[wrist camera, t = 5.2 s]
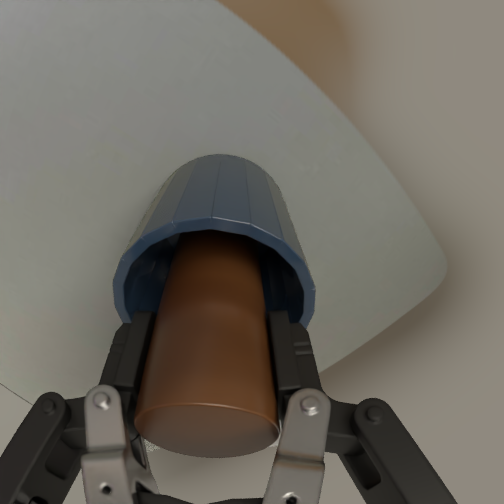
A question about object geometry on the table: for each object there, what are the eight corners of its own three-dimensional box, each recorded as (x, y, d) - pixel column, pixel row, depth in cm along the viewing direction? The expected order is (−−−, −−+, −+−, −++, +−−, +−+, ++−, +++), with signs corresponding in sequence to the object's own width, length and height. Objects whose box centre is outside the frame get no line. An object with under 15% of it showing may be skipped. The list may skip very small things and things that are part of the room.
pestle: (236, 178, 18) (242, 389, 6) (264, 235, 20) (298, 445, 8) (174, 206, 19) (103, 413, 7) (205, 259, 21) (185, 462, 9)
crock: (254, 131, 17) (271, 178, 9) (301, 244, 21) (334, 340, 14) (134, 189, 18) (75, 270, 11) (195, 285, 23) (181, 384, 15)
